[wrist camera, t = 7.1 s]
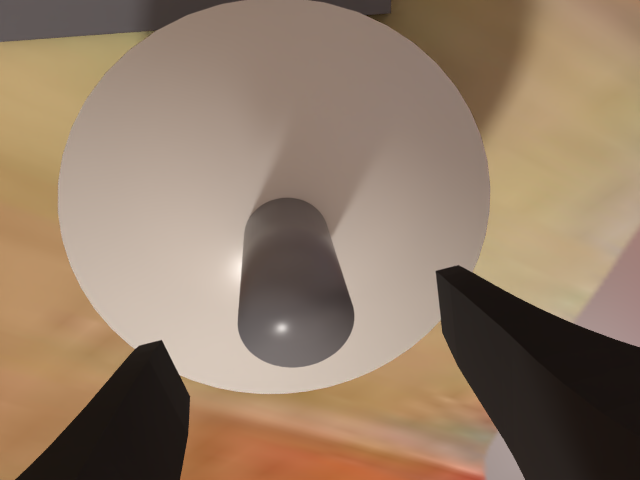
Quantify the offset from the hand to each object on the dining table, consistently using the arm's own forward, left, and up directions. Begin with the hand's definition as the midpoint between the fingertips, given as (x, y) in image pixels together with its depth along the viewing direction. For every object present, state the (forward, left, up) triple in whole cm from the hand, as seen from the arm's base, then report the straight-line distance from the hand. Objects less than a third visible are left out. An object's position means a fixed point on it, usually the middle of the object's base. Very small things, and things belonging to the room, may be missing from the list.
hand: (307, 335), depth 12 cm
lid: (0, 0, -6) cm, 6 cm away
